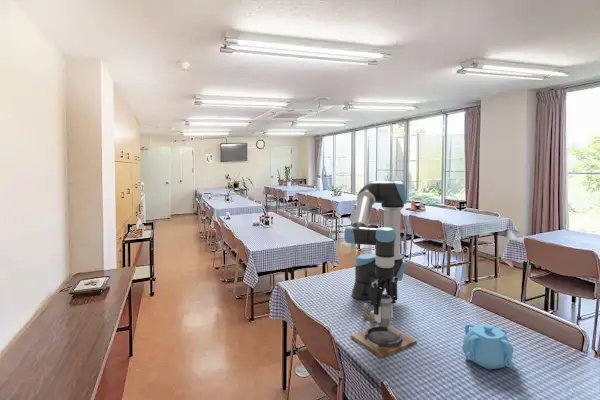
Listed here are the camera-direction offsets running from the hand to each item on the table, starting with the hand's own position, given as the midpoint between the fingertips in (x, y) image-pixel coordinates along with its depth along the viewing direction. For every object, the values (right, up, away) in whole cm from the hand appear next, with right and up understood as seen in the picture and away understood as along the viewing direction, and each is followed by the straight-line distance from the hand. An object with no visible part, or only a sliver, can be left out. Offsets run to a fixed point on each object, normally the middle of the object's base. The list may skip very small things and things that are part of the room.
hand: (383, 319), depth 137 cm
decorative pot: (+35, -11, -14) cm, 39 cm away
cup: (0, -2, 0) cm, 2 cm away
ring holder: (0, -9, +1) cm, 9 cm away
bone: (-1, -8, +19) cm, 21 cm away
